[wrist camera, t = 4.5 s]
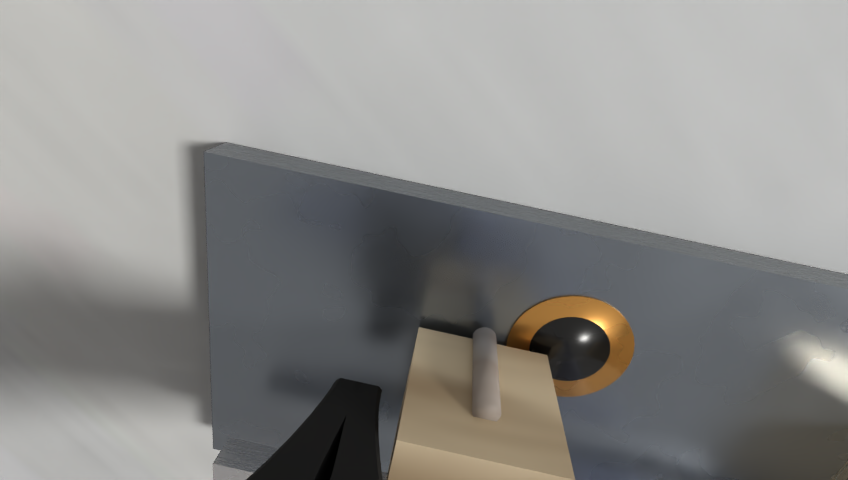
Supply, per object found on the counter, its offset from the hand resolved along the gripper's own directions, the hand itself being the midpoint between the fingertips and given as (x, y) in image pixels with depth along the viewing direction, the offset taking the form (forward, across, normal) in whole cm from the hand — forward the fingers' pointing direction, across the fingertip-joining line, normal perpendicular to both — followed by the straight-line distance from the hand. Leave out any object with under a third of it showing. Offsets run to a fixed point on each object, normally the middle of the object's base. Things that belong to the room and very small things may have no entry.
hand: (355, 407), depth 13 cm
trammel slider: (+2, -3, 0) cm, 4 cm away
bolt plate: (+3, -8, 0) cm, 9 cm away
